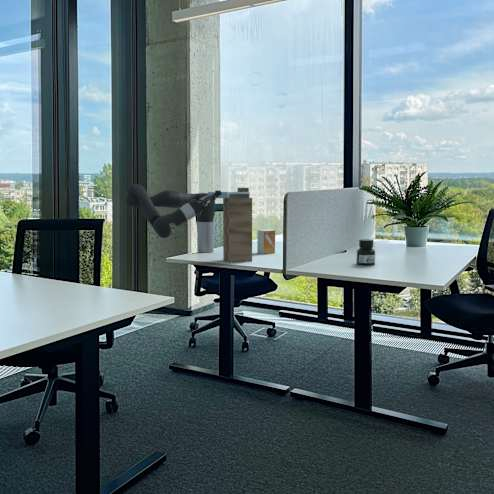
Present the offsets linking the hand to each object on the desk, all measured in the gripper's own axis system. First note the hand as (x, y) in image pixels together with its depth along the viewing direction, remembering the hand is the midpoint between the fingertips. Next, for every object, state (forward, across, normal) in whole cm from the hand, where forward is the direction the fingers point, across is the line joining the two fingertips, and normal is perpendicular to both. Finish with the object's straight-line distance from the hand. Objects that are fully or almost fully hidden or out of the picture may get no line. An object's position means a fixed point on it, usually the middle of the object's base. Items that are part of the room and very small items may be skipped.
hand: (219, 192), depth 270 cm
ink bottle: (+38, +33, -63) cm, 81 cm away
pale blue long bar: (+3, 0, -5) cm, 6 cm away
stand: (-9, 0, -35) cm, 36 cm away
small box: (+11, -19, -47) cm, 52 cm away
